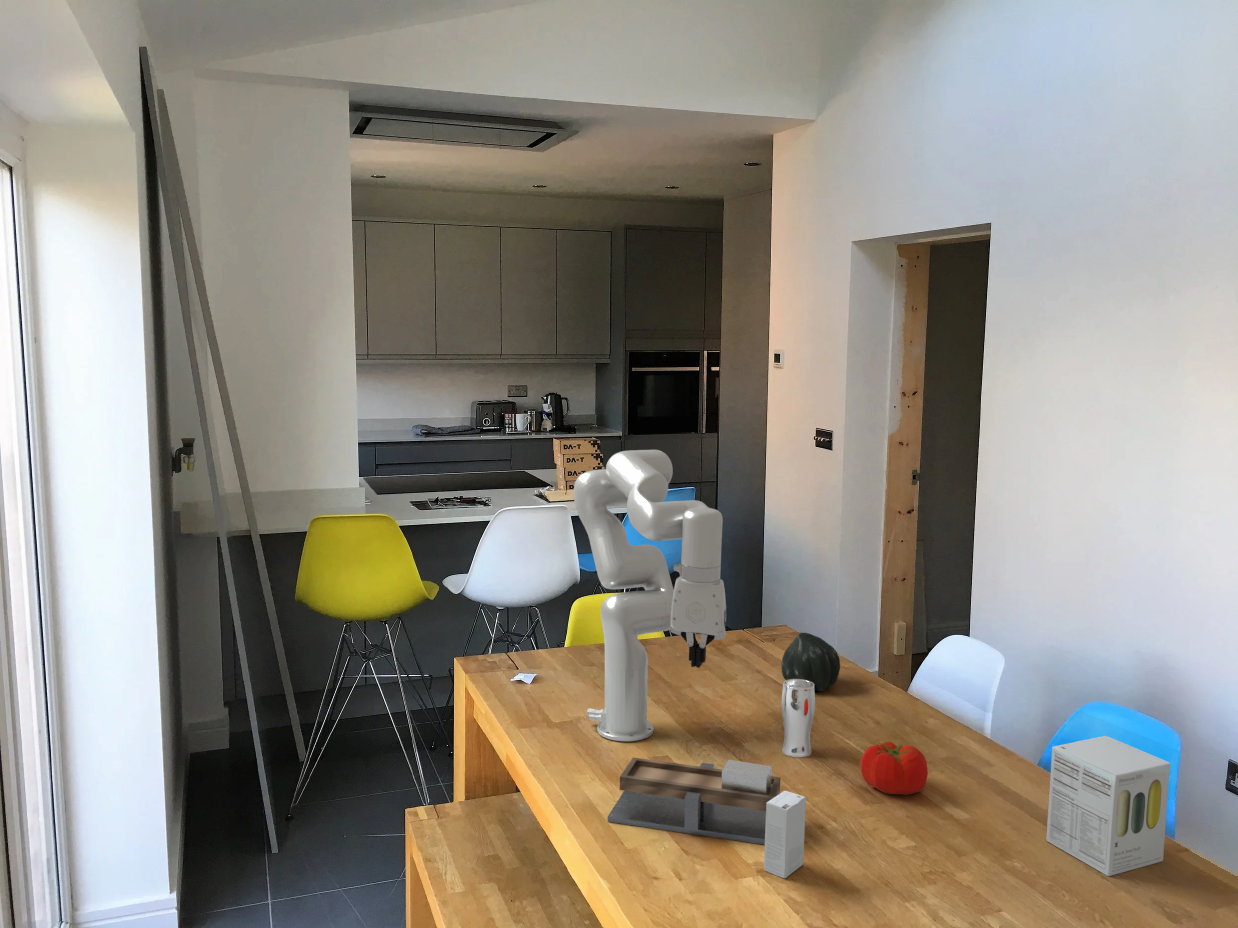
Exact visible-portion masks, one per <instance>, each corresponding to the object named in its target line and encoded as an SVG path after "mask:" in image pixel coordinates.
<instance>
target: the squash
mask: <svg viewBox="0 0 1238 928" xmlns="http://www.w3.org/2000/svg"><path fill="white" fill-rule="evenodd" d="M840 670H841V660H840V657H839V654H838V652H837V650H836V649H835V648H834V646H832V645H830V643H828V642H827V641H825V640H824V639H823V638H821V637H819V636H816V635H814V634H812V633H808V632H799V634H797V635H796V637H795V639H794V640H793V641H792V642H790V644H789V645H788V646H787V648H786V649H785V651H784V653H783V656H782V659H781V673H782V677H783V679H784V681H786V680H789V679H803V680H807V681H810V682H812V683H813V684H814V690H815V691H817V692H823V691H825V690H826V689H827V688H828V687H832V686H834V685H835V683H837V681H838V679H839V675H840Z"/></svg>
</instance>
